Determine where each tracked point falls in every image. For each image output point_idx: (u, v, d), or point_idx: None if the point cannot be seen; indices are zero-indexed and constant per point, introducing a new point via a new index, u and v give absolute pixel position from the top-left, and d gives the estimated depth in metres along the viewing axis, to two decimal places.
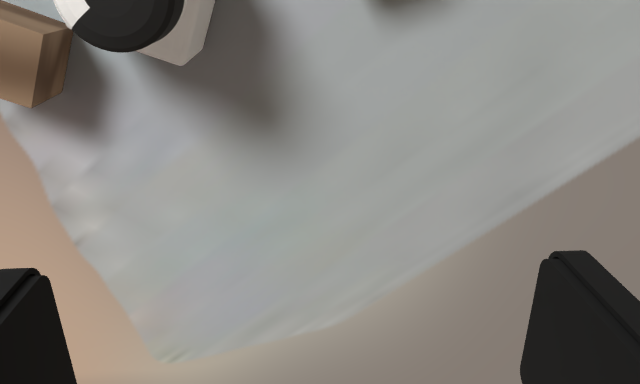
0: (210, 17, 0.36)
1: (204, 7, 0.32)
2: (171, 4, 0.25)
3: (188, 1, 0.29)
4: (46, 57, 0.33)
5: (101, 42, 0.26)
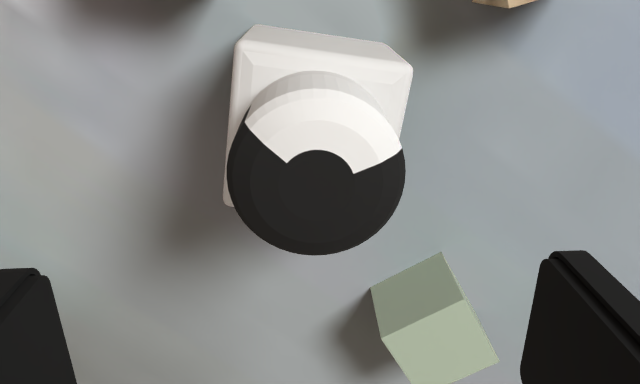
0: None
1: None
2: (312, 254, 0.18)
3: None
4: None
5: (237, 173, 0.16)
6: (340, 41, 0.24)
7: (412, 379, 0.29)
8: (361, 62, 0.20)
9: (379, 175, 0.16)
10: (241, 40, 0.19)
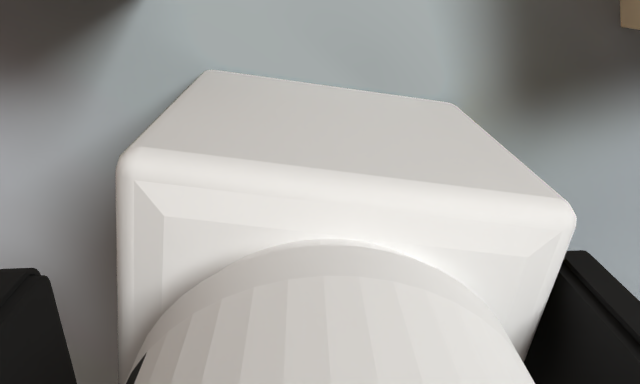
0: None
1: None
2: None
3: None
4: None
5: None
6: (375, 112, 0.11)
7: None
8: (449, 202, 0.08)
9: None
10: (133, 150, 0.07)
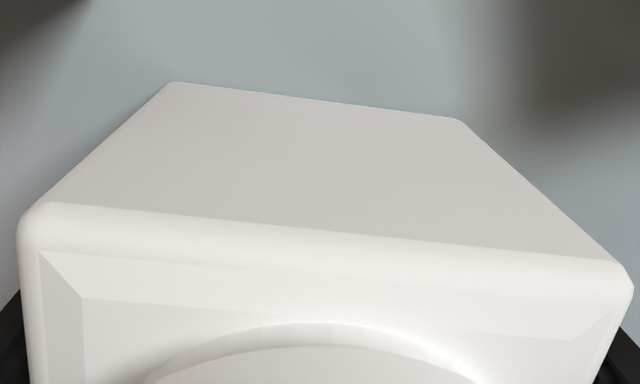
0: None
1: None
2: None
3: None
4: None
5: None
6: (369, 134, 0.10)
7: None
8: (469, 272, 0.06)
9: None
10: (39, 206, 0.05)
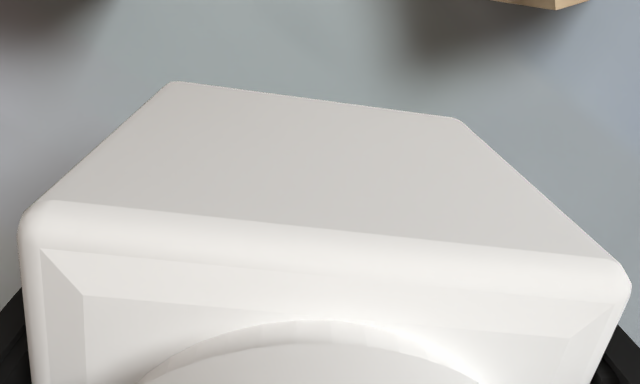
0: None
1: None
2: None
3: None
4: None
5: None
6: (368, 133, 0.10)
7: None
8: (467, 269, 0.06)
9: None
10: (41, 205, 0.05)
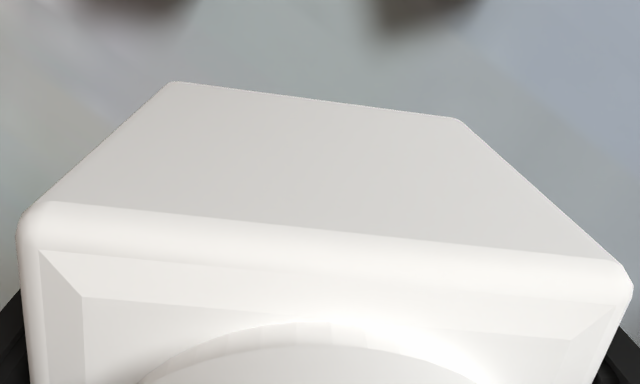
0: None
1: None
2: None
3: None
4: None
5: None
6: (369, 134, 0.10)
7: None
8: (469, 270, 0.06)
9: None
10: (39, 206, 0.05)
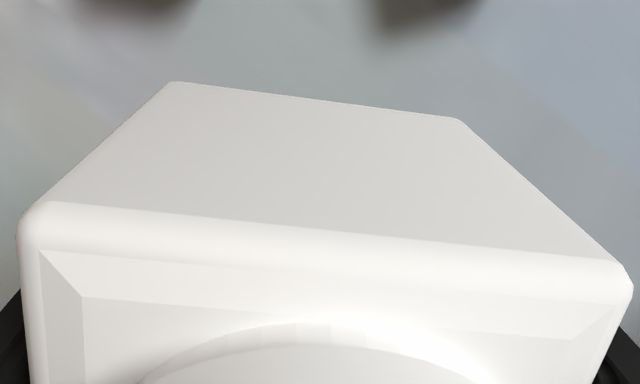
0: None
1: None
2: None
3: None
4: None
5: None
6: (369, 134, 0.10)
7: None
8: (469, 270, 0.06)
9: None
10: (39, 206, 0.05)
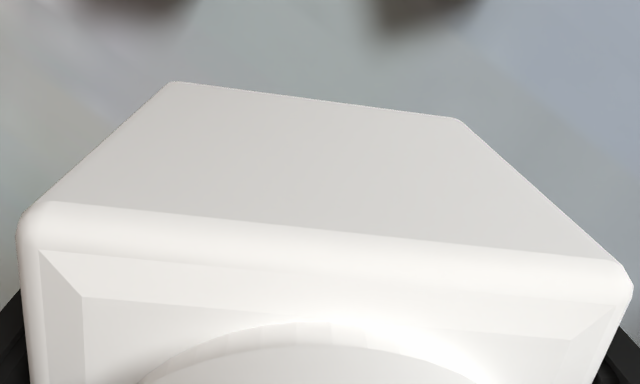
0: None
1: None
2: None
3: None
4: None
5: None
6: (369, 134, 0.10)
7: None
8: (469, 270, 0.06)
9: None
10: (39, 206, 0.05)
